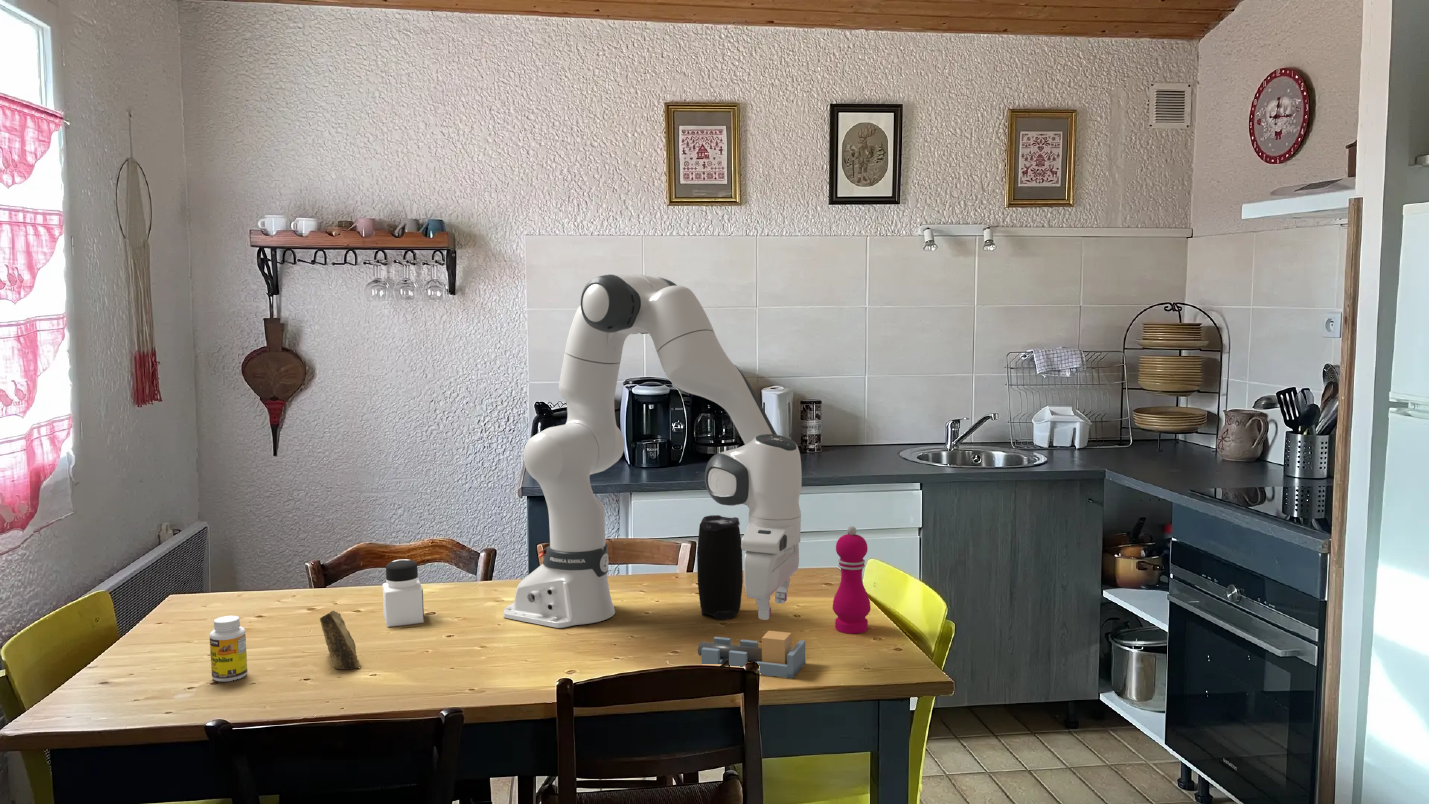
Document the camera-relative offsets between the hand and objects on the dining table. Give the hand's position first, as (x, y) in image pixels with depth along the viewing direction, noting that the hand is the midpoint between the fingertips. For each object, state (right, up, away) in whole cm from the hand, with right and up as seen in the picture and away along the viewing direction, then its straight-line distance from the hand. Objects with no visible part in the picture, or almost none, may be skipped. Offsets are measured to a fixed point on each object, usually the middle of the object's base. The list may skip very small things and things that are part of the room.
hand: (773, 610), depth 181 cm
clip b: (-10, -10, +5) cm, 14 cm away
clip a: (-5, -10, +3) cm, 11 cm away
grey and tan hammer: (-5, -9, +3) cm, 11 cm away
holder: (+1, -10, +1) cm, 10 cm away
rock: (-76, -11, +7) cm, 77 cm away
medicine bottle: (-72, -8, +30) cm, 79 cm away
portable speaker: (-9, -7, +32) cm, 34 cm away
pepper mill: (+16, -8, +22) cm, 28 cm away
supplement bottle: (-93, -12, 0) cm, 94 cm away
